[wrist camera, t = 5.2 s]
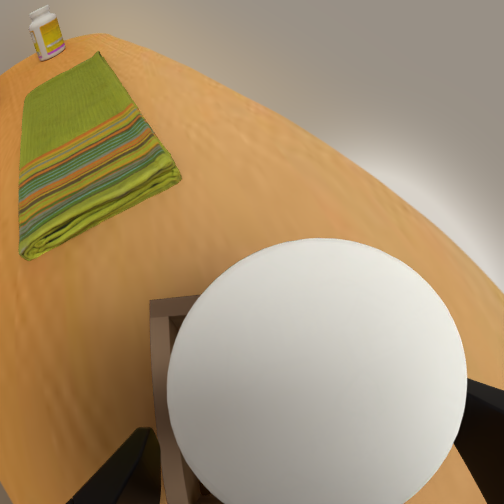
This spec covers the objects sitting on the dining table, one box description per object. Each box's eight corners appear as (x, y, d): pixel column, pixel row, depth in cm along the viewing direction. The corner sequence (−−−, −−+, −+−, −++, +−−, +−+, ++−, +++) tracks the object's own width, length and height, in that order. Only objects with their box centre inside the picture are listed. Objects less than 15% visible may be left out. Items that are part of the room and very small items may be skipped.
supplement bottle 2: (188, 423, 15) (63, 419, 4) (255, 325, 19) (260, 165, 8) (299, 485, 14) (391, 588, 2) (360, 381, 17) (511, 299, 6)
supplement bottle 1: (70, 45, 49) (58, -1, 38) (57, 57, 45) (42, 8, 34) (48, 52, 49) (35, 9, 38) (34, 64, 45) (19, 19, 34)
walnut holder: (390, 473, 13) (417, 480, 10) (186, 509, 13) (172, 527, 10) (352, 296, 19) (370, 271, 16) (165, 321, 19) (149, 300, 16)
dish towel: (30, 271, 21) (9, 252, 18) (25, 103, 36) (19, 89, 33) (187, 186, 25) (181, 158, 22) (106, 63, 40) (102, 47, 38)
